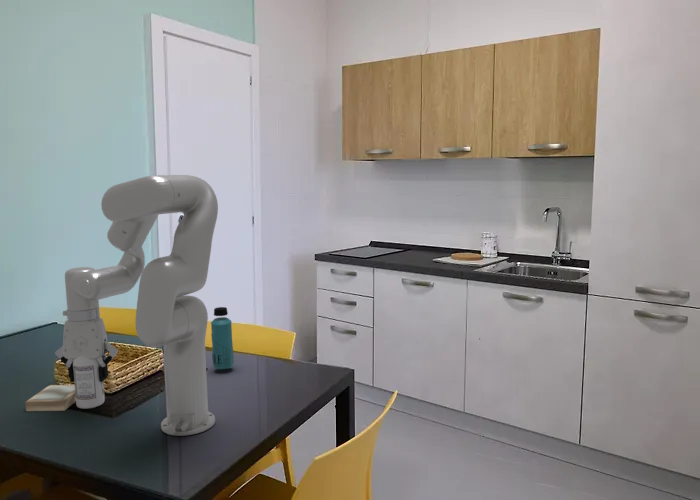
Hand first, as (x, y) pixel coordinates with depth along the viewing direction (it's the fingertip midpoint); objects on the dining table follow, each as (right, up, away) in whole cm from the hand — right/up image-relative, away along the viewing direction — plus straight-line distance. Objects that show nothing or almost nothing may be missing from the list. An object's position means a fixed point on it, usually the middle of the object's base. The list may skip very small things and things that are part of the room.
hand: (88, 379), depth 149 cm
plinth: (-10, -7, +3) cm, 12 cm away
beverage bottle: (+30, -3, +26) cm, 40 cm away
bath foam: (0, -7, +1) cm, 7 cm away
